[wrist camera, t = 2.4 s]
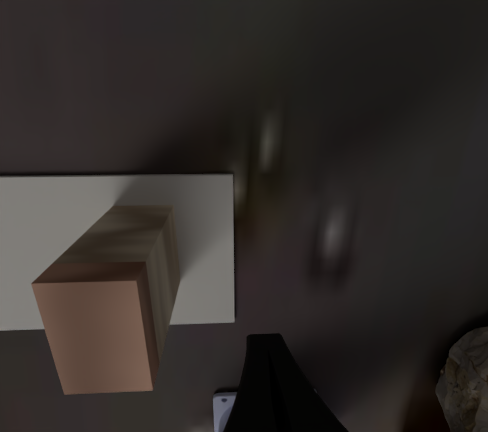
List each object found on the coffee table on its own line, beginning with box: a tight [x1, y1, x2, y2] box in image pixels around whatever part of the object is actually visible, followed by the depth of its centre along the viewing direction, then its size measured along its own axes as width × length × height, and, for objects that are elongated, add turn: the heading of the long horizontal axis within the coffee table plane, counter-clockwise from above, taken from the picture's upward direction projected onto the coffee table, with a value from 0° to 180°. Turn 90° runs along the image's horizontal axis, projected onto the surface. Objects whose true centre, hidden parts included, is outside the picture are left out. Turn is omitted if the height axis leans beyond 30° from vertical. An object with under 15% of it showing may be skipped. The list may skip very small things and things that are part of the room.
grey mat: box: [0, 174, 234, 330], centre depth 22 cm, size 20×12×1 cm, turn 90°
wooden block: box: [31, 205, 180, 394], centre depth 17 cm, size 4×6×9 cm, turn 0°
